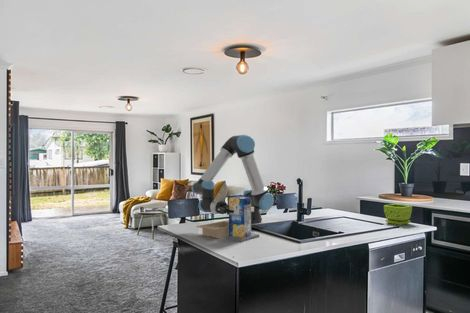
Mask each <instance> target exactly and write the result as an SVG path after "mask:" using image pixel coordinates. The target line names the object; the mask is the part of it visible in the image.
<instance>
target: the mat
mask: <svg viewBox="0 0 470 313" xmlns="http://www.w3.org/2000/svg"><path fill="white" fill-rule="evenodd" d="M257 238H260V234H258V233H254V232H251V236H249V237H246V238H242V237H235V236H229V235H228V236H226V237H225V239H226V240H230V241H235V242H239V243H240V242H241V243H243V242H247V241H250V240H254V239H257Z"/></svg>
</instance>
